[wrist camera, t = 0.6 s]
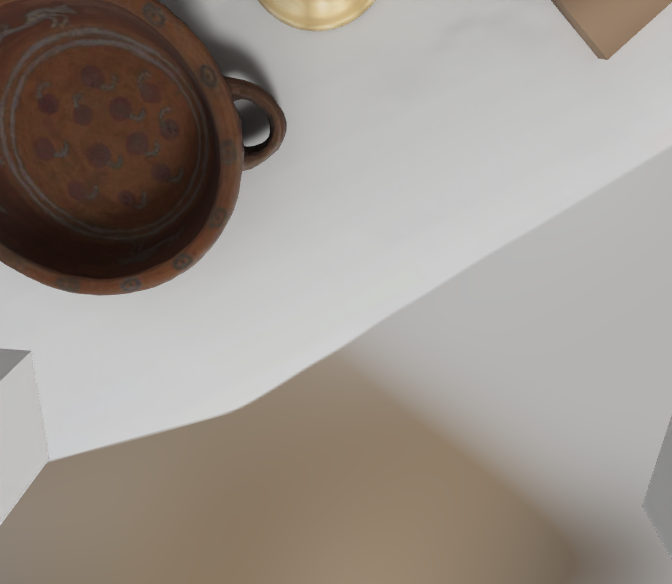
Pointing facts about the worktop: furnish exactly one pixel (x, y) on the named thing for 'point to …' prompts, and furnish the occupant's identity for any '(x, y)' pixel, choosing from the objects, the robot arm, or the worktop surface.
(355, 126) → the worktop surface
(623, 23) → the walnut stand
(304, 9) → the hand bell
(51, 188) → the dish
